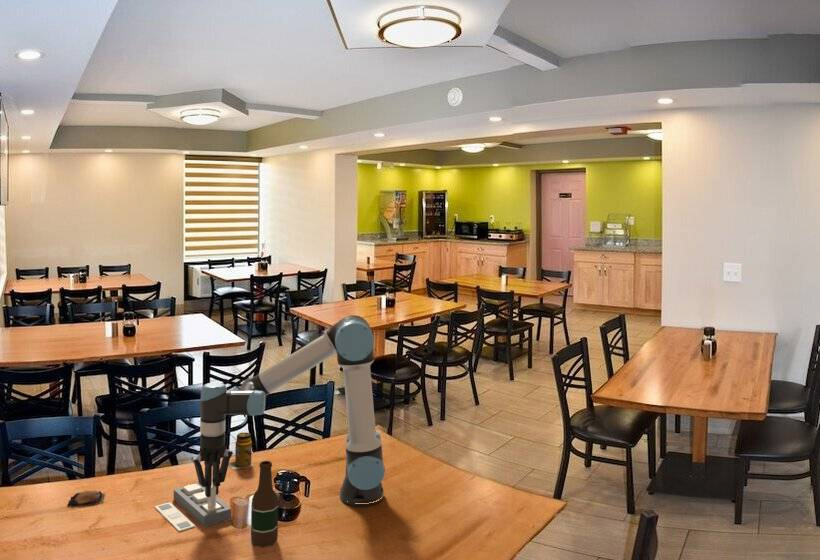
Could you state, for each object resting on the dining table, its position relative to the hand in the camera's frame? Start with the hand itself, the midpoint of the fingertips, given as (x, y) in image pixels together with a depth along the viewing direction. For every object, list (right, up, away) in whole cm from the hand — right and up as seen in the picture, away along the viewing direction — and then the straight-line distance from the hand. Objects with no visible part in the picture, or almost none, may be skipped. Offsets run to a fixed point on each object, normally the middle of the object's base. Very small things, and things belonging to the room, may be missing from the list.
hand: (211, 505), depth 198 cm
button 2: (0, -3, 0) cm, 3 cm away
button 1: (-10, 0, +11) cm, 15 cm away
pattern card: (-12, -4, 0) cm, 12 cm away
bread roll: (-44, -2, +9) cm, 45 cm away
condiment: (-2, 0, +43) cm, 43 cm away
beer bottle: (+19, -6, -12) cm, 24 cm away
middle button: (-5, -1, +6) cm, 8 cm away
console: (-5, -3, +6) cm, 8 cm away
